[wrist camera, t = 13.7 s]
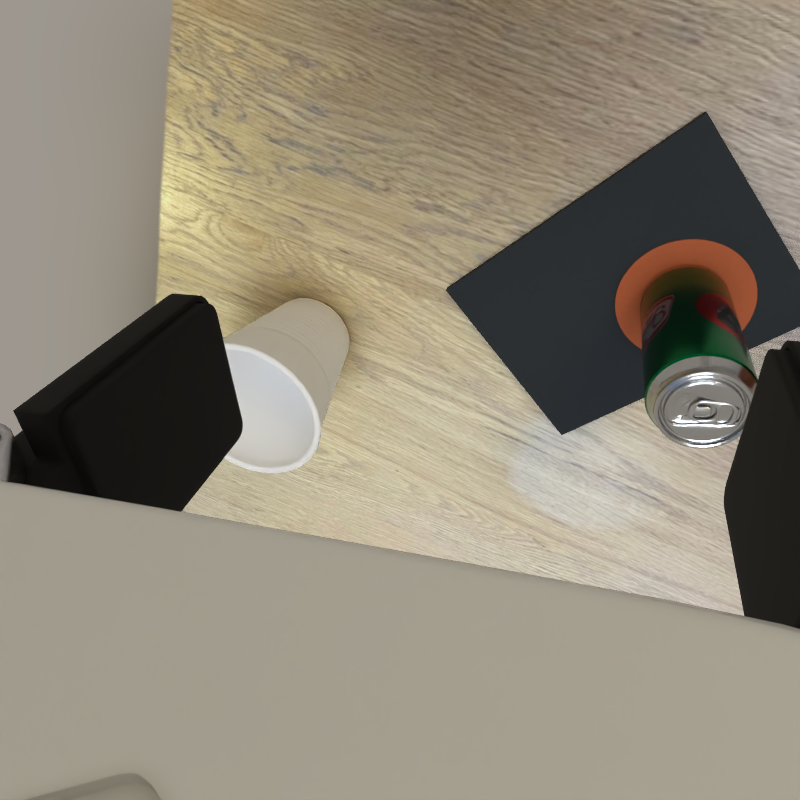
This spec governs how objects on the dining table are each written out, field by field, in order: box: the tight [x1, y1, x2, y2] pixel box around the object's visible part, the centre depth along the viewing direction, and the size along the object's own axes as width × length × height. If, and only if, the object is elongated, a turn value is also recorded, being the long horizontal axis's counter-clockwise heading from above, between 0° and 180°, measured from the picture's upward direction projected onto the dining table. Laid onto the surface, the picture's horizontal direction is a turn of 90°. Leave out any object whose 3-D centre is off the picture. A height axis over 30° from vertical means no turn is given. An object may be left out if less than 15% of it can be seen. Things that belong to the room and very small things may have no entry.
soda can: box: [640, 267, 758, 448], centre depth 34 cm, size 5×5×12 cm
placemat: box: [446, 112, 800, 435], centre depth 40 cm, size 18×14×1 cm
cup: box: [223, 298, 350, 473], centre depth 44 cm, size 10×10×11 cm
